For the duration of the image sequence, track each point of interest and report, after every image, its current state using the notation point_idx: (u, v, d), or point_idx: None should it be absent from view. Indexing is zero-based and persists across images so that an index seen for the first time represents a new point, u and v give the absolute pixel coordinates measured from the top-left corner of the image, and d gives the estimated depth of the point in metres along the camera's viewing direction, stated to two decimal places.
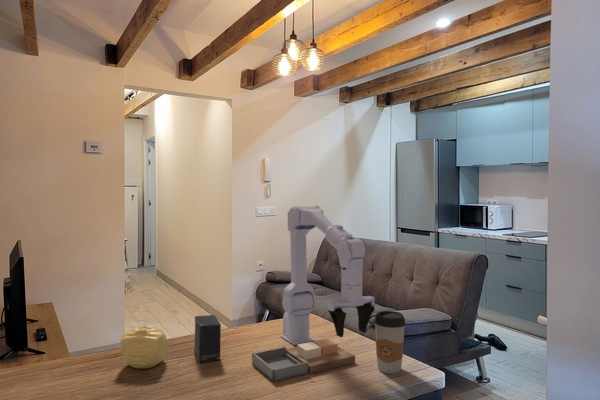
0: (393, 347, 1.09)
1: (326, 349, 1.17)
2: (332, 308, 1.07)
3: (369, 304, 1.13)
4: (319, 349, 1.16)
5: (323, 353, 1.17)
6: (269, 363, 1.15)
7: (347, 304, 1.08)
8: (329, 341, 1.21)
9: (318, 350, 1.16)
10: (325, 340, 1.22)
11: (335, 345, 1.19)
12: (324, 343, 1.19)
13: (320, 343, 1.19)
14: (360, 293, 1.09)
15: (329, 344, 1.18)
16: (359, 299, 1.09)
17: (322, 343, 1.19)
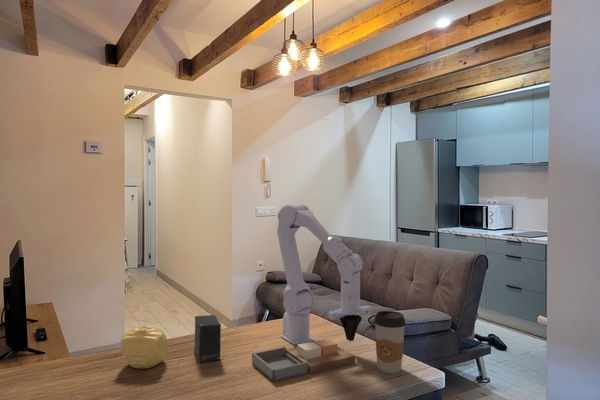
0: (393, 347, 1.09)
1: (326, 349, 1.17)
2: (333, 317, 1.20)
3: None
4: (319, 349, 1.16)
5: (323, 353, 1.17)
6: (269, 363, 1.15)
7: (346, 313, 1.21)
8: (329, 341, 1.21)
9: (318, 350, 1.16)
10: (325, 340, 1.22)
11: (335, 345, 1.19)
12: (324, 343, 1.19)
13: (320, 343, 1.19)
14: (358, 303, 1.22)
15: (329, 344, 1.18)
16: (357, 309, 1.22)
17: (322, 343, 1.19)
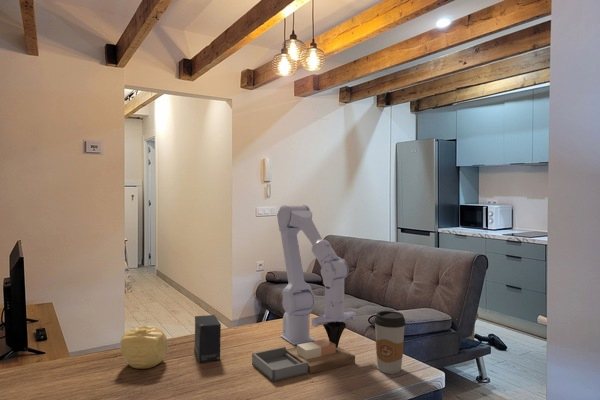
0: (393, 347, 1.09)
1: (324, 350, 1.17)
2: (316, 324, 1.17)
3: (350, 319, 1.24)
4: (319, 349, 1.16)
5: (321, 353, 1.16)
6: (269, 363, 1.15)
7: (330, 320, 1.18)
8: (327, 341, 1.21)
9: (318, 350, 1.16)
10: (323, 340, 1.21)
11: (333, 345, 1.18)
12: (322, 343, 1.19)
13: (318, 343, 1.19)
14: (342, 310, 1.19)
15: (327, 344, 1.18)
16: (341, 315, 1.19)
17: (320, 343, 1.19)
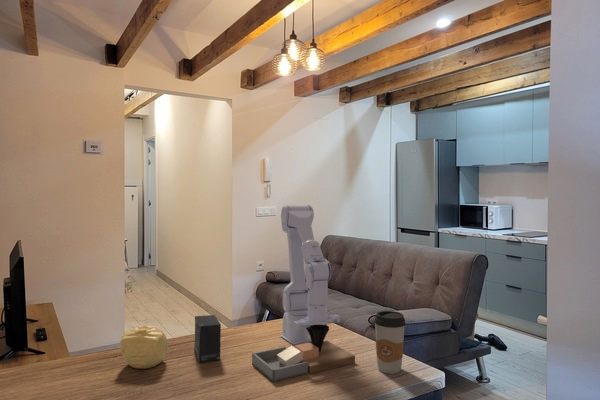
0: (393, 347, 1.09)
1: (306, 354, 1.14)
2: (298, 327, 1.14)
3: None
4: (299, 354, 1.13)
5: (304, 357, 1.13)
6: (269, 363, 1.15)
7: (312, 323, 1.15)
8: (311, 345, 1.18)
9: (298, 355, 1.12)
10: (307, 344, 1.18)
11: (316, 349, 1.15)
12: (305, 347, 1.16)
13: (301, 347, 1.16)
14: (325, 313, 1.16)
15: (310, 348, 1.15)
16: (324, 318, 1.16)
17: (303, 347, 1.16)
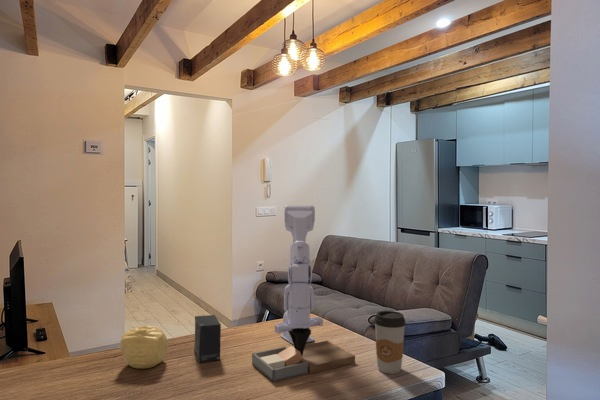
0: (393, 347, 1.09)
1: (289, 362, 1.11)
2: (279, 331, 1.11)
3: (317, 325, 1.17)
4: (282, 362, 1.10)
5: None
6: None
7: (293, 327, 1.12)
8: (292, 349, 1.15)
9: (281, 363, 1.10)
10: (288, 349, 1.15)
11: (298, 353, 1.13)
12: (287, 354, 1.13)
13: (283, 355, 1.13)
14: (307, 316, 1.13)
15: (292, 354, 1.12)
16: (306, 321, 1.13)
17: (284, 355, 1.13)
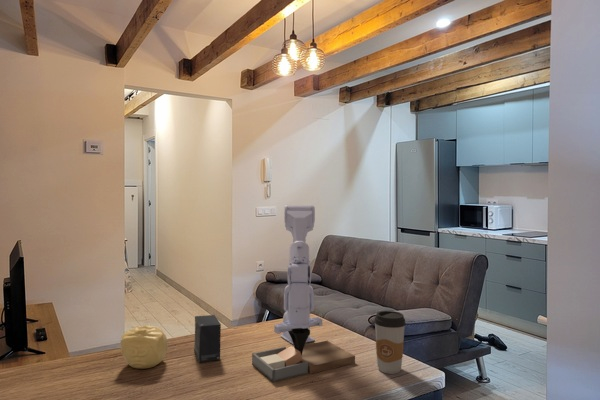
0: (393, 347, 1.09)
1: (289, 362, 1.11)
2: (278, 331, 1.11)
3: None
4: (282, 362, 1.10)
5: None
6: None
7: (293, 327, 1.12)
8: (292, 349, 1.15)
9: (281, 363, 1.10)
10: (288, 349, 1.16)
11: (298, 353, 1.13)
12: (287, 354, 1.13)
13: (283, 355, 1.13)
14: (306, 316, 1.13)
15: (292, 354, 1.12)
16: (305, 322, 1.13)
17: (284, 355, 1.13)
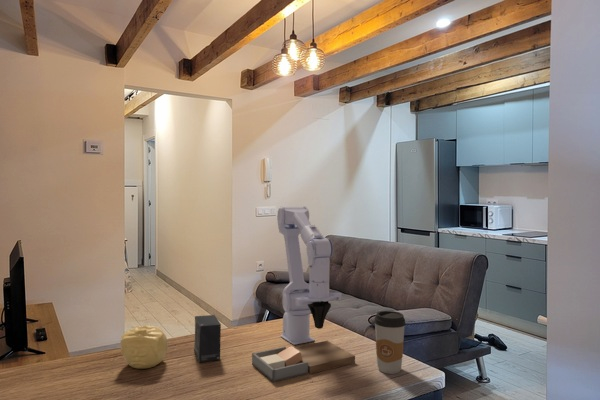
0: (393, 347, 1.09)
1: (289, 362, 1.11)
2: (300, 303, 1.14)
3: None
4: (282, 362, 1.10)
5: None
6: None
7: (314, 300, 1.15)
8: (292, 349, 1.15)
9: (281, 363, 1.10)
10: (288, 349, 1.16)
11: (298, 353, 1.13)
12: (287, 354, 1.13)
13: (283, 355, 1.13)
14: (327, 289, 1.17)
15: (292, 354, 1.12)
16: (325, 295, 1.16)
17: (284, 355, 1.13)
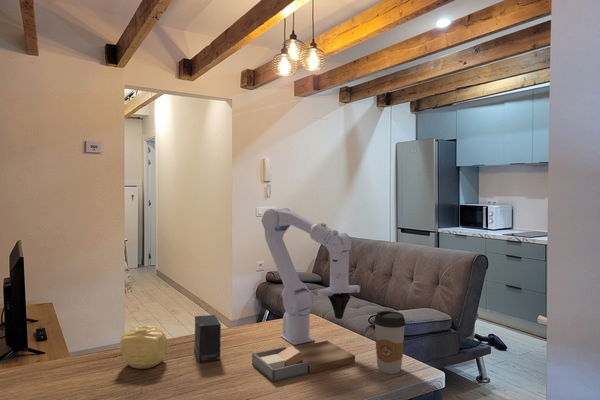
0: (393, 347, 1.09)
1: (289, 362, 1.11)
2: (321, 295, 1.21)
3: None
4: (282, 362, 1.10)
5: None
6: None
7: (335, 291, 1.22)
8: (292, 349, 1.15)
9: (281, 363, 1.10)
10: (288, 349, 1.16)
11: (298, 353, 1.13)
12: (287, 354, 1.13)
13: (283, 355, 1.13)
14: (346, 282, 1.24)
15: (292, 354, 1.12)
16: (345, 287, 1.24)
17: (284, 355, 1.13)
